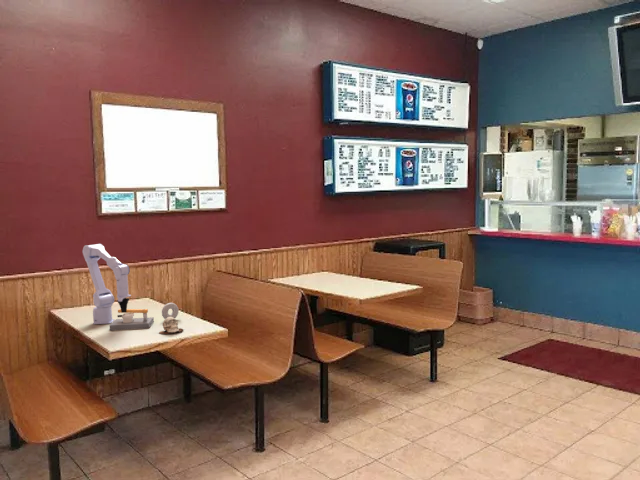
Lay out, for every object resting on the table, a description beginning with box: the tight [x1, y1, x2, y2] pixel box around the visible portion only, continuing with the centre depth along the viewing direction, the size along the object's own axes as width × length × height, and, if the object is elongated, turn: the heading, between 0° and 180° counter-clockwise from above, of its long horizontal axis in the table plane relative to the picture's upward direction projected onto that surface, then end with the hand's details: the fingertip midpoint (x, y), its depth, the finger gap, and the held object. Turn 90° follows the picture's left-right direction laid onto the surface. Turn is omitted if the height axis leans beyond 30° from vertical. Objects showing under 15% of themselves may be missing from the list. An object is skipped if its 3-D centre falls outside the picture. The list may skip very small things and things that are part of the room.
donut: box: [161, 302, 180, 320], centre depth 305 cm, size 10×4×10 cm, turn 135°
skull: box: [158, 317, 184, 335], centre depth 281 cm, size 12×10×10 cm
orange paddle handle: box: [117, 308, 149, 314], centre depth 297 cm, size 16×3×2 cm, turn 81°
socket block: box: [109, 312, 155, 331], centre depth 295 cm, size 20×14×7 cm
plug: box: [116, 313, 135, 323], centre depth 295 cm, size 8×5×6 cm, turn 97°
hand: (124, 312), depth 296 cm, fingers closed, pressing on orange paddle handle
